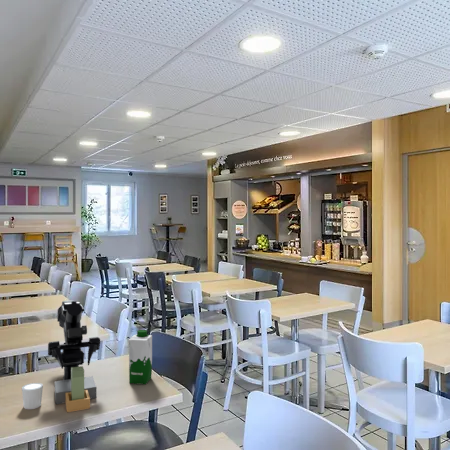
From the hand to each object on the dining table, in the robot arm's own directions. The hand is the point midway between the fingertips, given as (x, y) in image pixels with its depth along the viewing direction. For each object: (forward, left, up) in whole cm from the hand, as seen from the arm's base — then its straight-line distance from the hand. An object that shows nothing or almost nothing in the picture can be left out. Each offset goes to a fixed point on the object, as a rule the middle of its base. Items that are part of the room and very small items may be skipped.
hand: (75, 366), depth 158 cm
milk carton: (-10, +25, -12) cm, 29 cm away
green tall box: (+7, +1, -11) cm, 14 cm away
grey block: (+2, 0, -11) cm, 12 cm away
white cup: (+3, -14, -12) cm, 19 cm away
